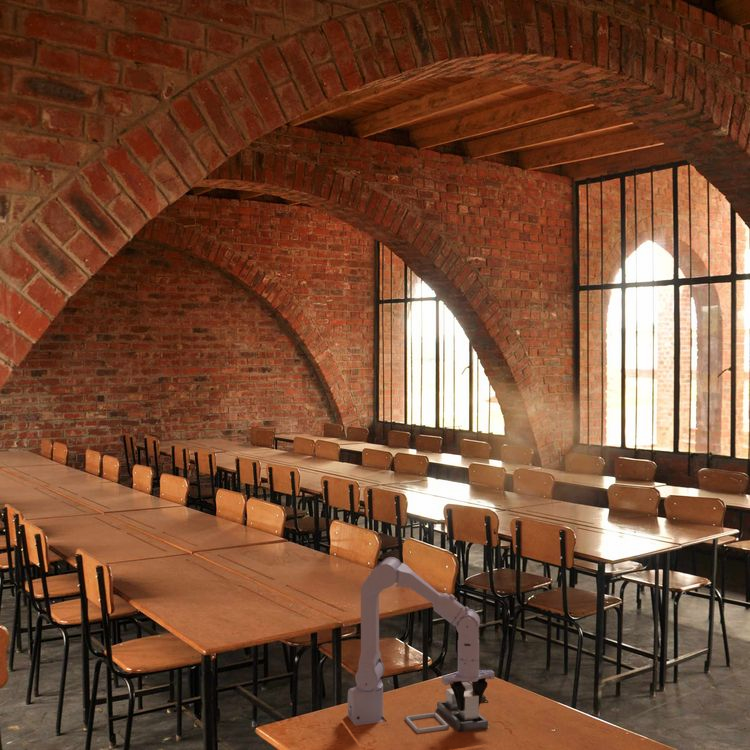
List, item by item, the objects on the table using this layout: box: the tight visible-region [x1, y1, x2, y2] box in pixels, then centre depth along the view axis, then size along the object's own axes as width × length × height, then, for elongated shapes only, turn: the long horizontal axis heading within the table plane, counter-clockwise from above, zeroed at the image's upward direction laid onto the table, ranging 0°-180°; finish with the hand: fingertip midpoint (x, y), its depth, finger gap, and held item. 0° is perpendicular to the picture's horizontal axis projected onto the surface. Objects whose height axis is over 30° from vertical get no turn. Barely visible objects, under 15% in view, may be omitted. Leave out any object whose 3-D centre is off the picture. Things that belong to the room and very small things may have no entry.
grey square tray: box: [404, 711, 450, 734], centre depth 222 cm, size 9×9×2 cm
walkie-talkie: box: [462, 681, 489, 704], centre depth 245 cm, size 9×4×20 cm
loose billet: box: [459, 690, 480, 720], centre depth 222 cm, size 4×4×6 cm
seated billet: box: [445, 687, 459, 712], centre depth 229 cm, size 4×4×6 cm
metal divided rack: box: [434, 700, 490, 733], centre depth 225 cm, size 9×16×3 cm, turn 19°
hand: (468, 708), depth 222 cm, fingers closed on loose billet, 4 cm apart
